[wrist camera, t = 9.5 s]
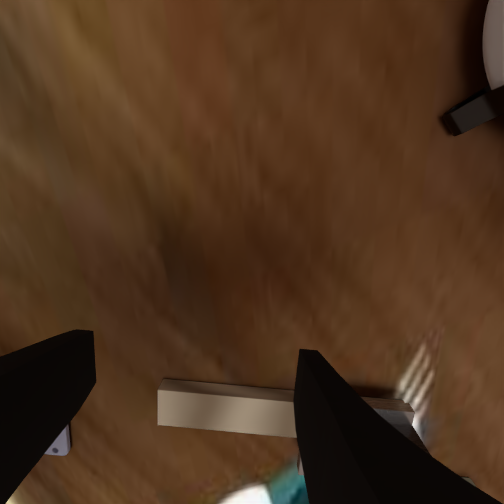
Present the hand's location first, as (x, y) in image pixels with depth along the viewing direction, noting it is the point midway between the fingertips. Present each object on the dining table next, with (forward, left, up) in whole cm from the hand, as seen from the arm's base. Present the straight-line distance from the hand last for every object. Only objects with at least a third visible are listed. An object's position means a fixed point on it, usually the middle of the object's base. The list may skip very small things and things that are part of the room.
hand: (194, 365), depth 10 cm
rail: (+4, -10, -10) cm, 15 cm away
